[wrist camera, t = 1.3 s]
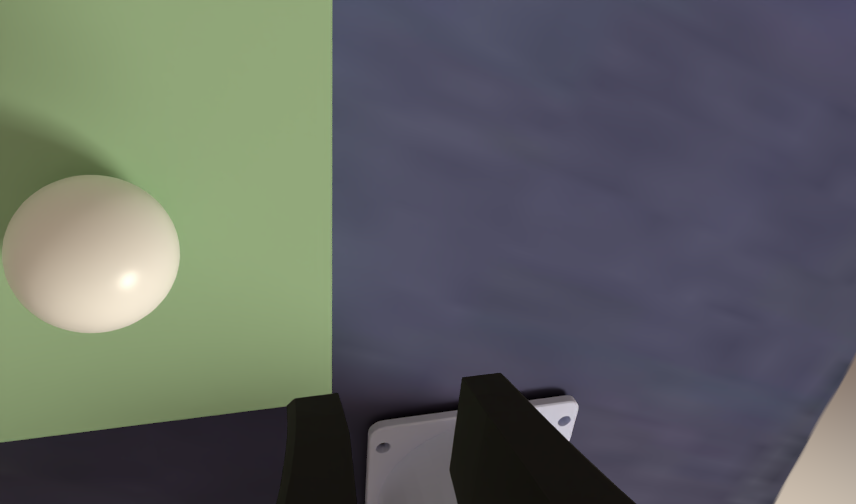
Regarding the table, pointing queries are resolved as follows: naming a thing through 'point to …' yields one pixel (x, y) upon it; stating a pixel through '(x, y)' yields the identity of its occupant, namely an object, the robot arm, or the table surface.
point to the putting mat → (176, 202)
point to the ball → (90, 253)
